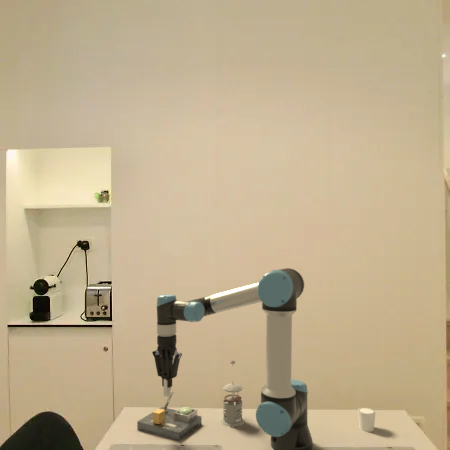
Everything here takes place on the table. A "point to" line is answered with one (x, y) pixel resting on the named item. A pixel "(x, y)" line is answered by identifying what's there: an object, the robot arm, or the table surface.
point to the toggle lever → (168, 400)
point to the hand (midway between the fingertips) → (167, 395)
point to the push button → (186, 410)
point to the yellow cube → (158, 416)
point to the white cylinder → (366, 419)
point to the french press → (232, 406)
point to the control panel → (171, 424)
